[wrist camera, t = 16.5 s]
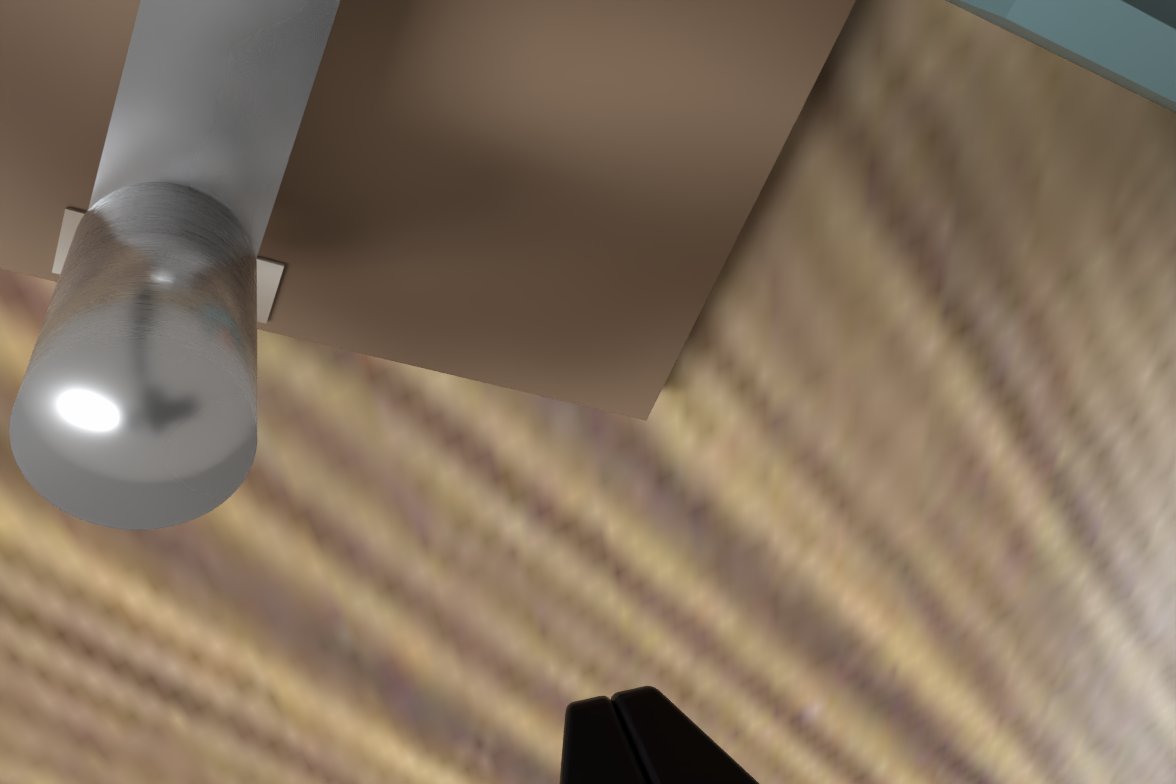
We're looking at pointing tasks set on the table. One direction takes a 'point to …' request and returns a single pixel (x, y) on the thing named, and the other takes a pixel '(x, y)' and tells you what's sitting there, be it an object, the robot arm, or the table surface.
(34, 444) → the crank
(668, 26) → the crank base
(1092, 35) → the tray
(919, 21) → the table surface
